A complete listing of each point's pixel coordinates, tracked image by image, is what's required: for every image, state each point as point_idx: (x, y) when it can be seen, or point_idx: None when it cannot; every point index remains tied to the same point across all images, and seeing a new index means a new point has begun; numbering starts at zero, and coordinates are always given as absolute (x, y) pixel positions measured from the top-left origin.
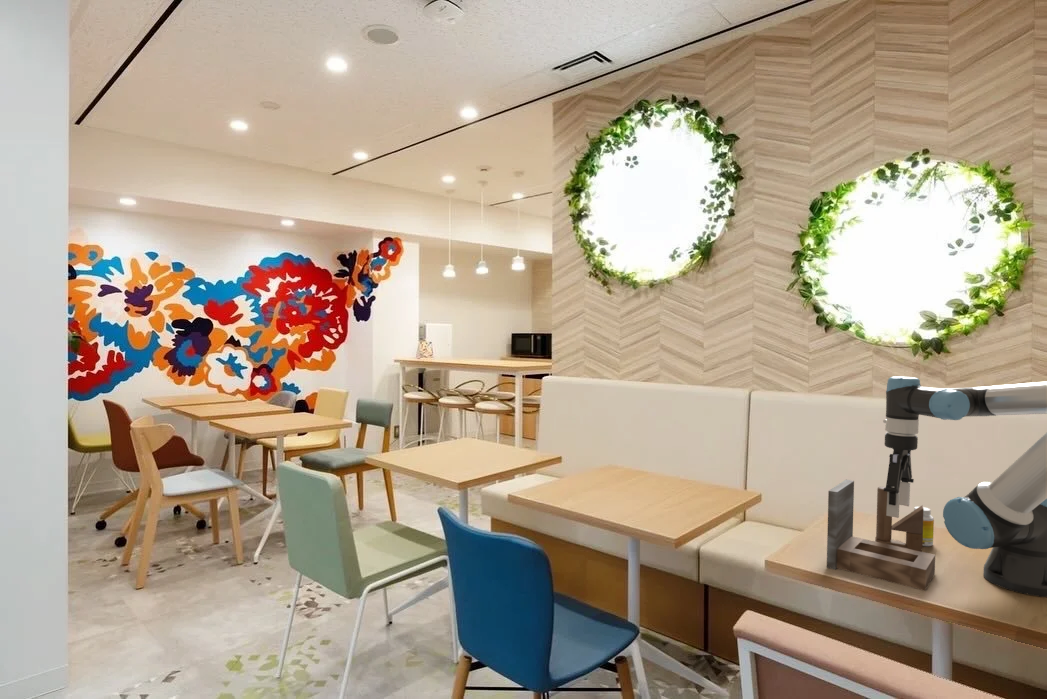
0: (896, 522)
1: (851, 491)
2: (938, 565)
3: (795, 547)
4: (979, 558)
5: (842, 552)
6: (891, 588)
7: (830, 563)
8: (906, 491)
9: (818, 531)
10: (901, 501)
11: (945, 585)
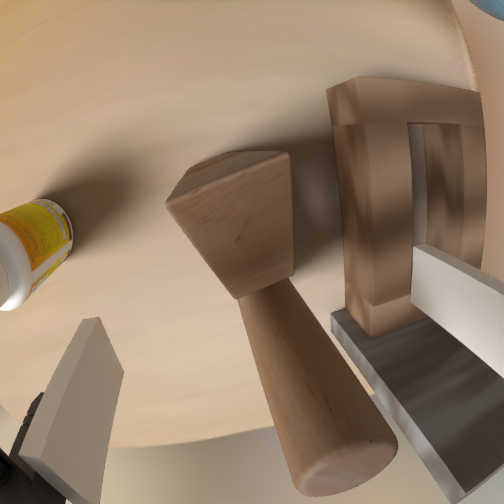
0: (234, 290)
1: (475, 442)
2: (226, 101)
3: None
4: (43, 64)
5: None
6: None
7: None
8: (77, 407)
9: (227, 426)
10: (111, 370)
11: (380, 58)
